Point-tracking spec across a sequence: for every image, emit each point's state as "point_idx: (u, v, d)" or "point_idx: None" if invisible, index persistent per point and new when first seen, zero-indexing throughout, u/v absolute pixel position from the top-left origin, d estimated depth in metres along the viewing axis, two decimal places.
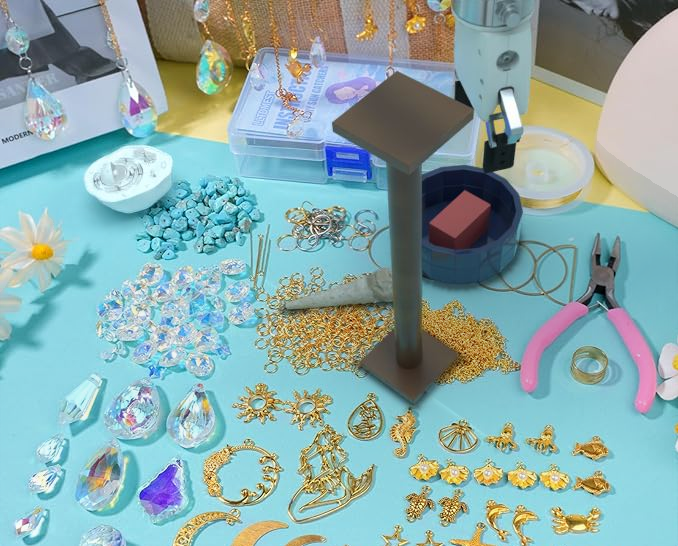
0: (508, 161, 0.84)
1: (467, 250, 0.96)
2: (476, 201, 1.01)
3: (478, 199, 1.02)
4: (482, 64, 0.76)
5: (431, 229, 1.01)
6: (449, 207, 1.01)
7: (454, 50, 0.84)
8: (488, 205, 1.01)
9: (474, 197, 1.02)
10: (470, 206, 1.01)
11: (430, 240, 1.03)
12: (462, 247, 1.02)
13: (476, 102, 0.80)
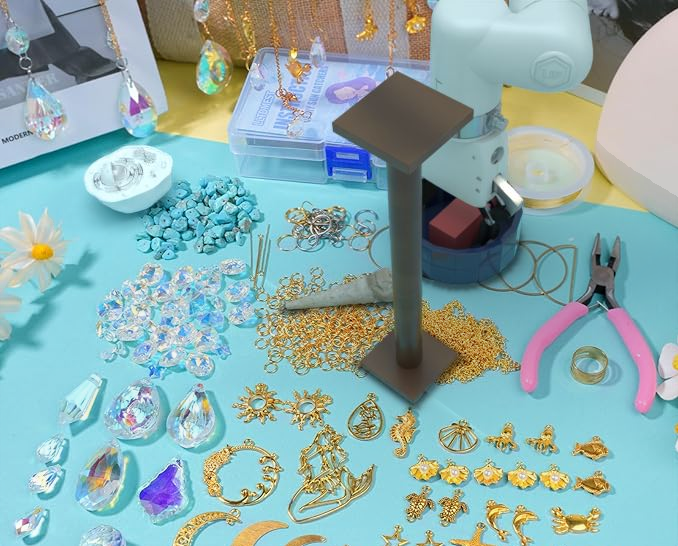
0: (499, 229, 0.98)
1: (467, 250, 0.96)
2: None
3: None
4: (478, 166, 0.88)
5: (431, 229, 1.01)
6: (449, 207, 1.01)
7: None
8: (488, 205, 1.01)
9: None
10: (470, 206, 1.01)
11: (430, 240, 1.03)
12: (462, 247, 1.02)
13: (469, 195, 0.93)
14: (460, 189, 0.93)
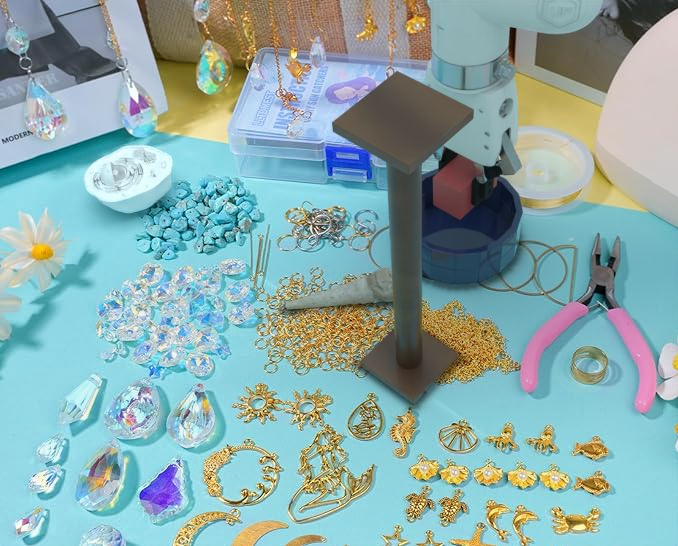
0: (492, 188, 0.95)
1: (467, 250, 0.96)
2: None
3: None
4: (486, 120, 0.83)
5: (435, 184, 0.94)
6: (454, 161, 0.95)
7: None
8: None
9: None
10: None
11: (434, 197, 0.96)
12: (469, 203, 0.95)
13: (478, 153, 0.88)
14: (468, 147, 0.88)
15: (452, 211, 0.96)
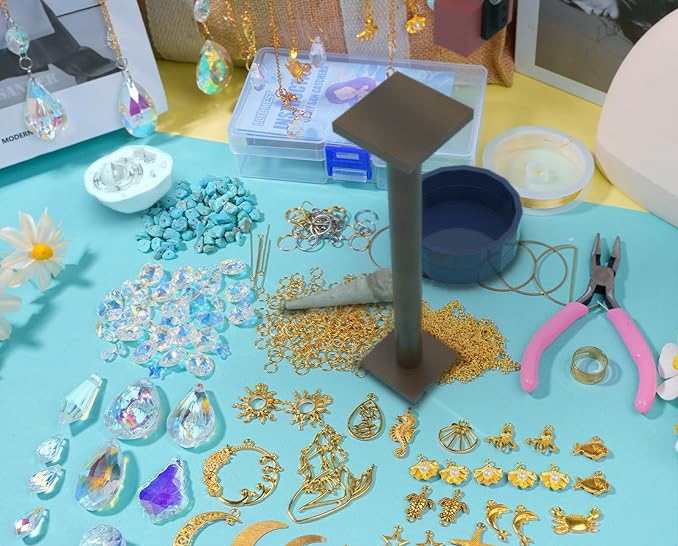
0: (507, 16, 0.76)
1: (467, 250, 0.96)
2: None
3: None
4: None
5: (436, 11, 0.76)
6: None
7: None
8: None
9: None
10: None
11: (435, 30, 0.78)
12: (478, 36, 0.77)
13: None
14: None
15: (458, 47, 0.77)
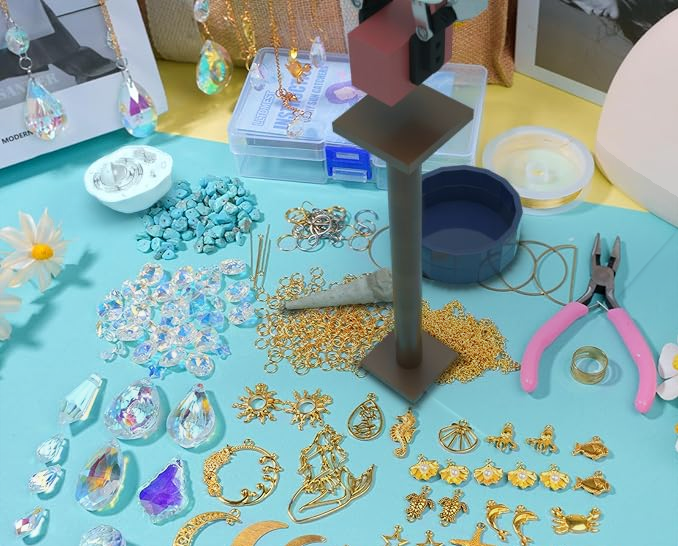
0: (444, 55, 0.59)
1: (467, 250, 0.96)
2: None
3: None
4: None
5: (352, 46, 0.59)
6: (383, 11, 0.59)
7: None
8: None
9: None
10: None
11: (352, 70, 0.61)
12: (405, 80, 0.60)
13: None
14: None
15: (380, 93, 0.60)
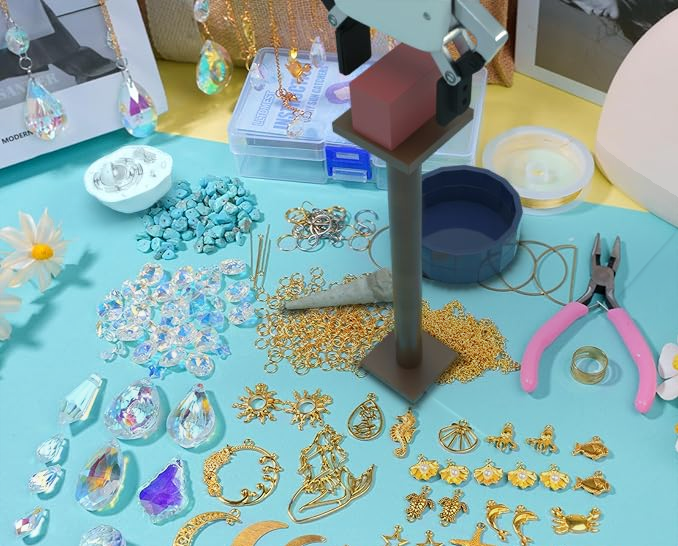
0: (470, 97, 0.60)
1: (467, 250, 0.96)
2: None
3: None
4: None
5: (353, 94, 0.62)
6: (383, 60, 0.62)
7: None
8: None
9: None
10: (416, 58, 0.62)
11: (354, 116, 0.64)
12: (404, 125, 0.63)
13: (415, 29, 0.55)
14: (399, 20, 0.55)
15: (380, 138, 0.63)
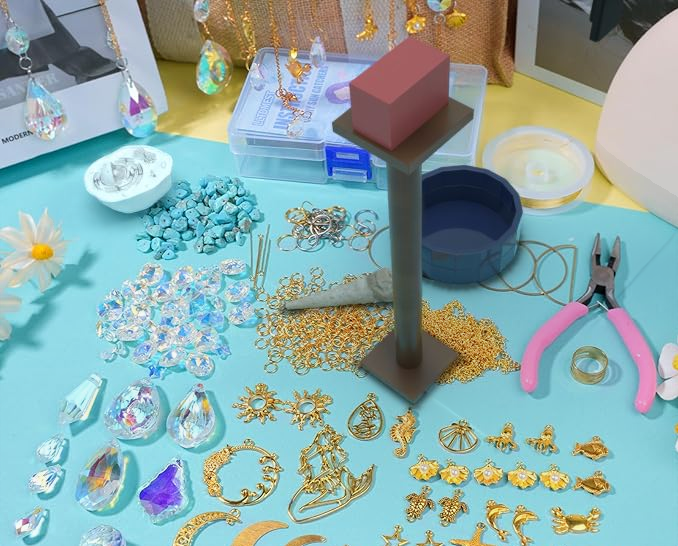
0: None
1: (467, 250, 0.96)
2: (427, 50, 0.63)
3: (429, 48, 0.63)
4: None
5: (353, 94, 0.62)
6: (383, 60, 0.62)
7: None
8: (446, 56, 0.62)
9: (424, 45, 0.63)
10: (416, 58, 0.62)
11: (354, 116, 0.64)
12: (404, 125, 0.63)
13: None
14: None
15: (380, 138, 0.63)
